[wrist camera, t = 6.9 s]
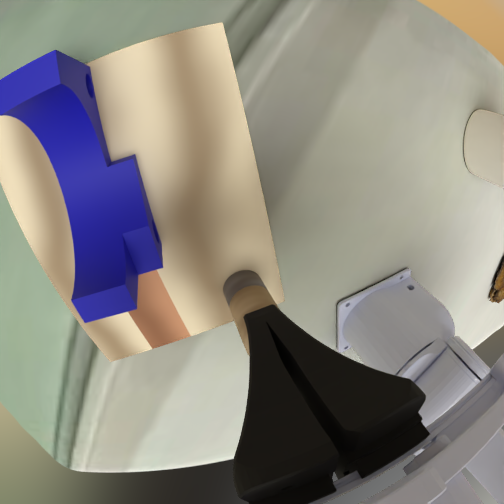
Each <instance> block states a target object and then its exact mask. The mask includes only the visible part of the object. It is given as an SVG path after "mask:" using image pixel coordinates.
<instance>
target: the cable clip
mask: <svg viewBox="0 0 504 504" xmlns="http://www.w3.org/2000/svg"><path fill="white" fill-rule="evenodd" d="M4 115H6V116H11V117H14V118H16V119H18V120H20V121H21V122H23V123H24V124H25V125H26V126H27V127H29V128H30V130H31V131H32V132H33V133H34V134H35V136H36V137H37V138H38V140H39V141H40V143H41V144H42V146H43V148H44V150H45V151H46V153H47V155H48V157H49V159H50V162H51V164H52V166H53V168H54V171H55V173H56V176H57V179H58V181H59V184H60V187H61V191H62V194H63V197H64V201H65V204H66V208H67V212H68V217H69V222H70V227H71V232H72V239H73V247H74V258H75V280H74V289H73V294H72V298H71V301H72V303H73V305H74V306H75V308H76V310H77V311H78V313H79V315H80V316H81V318H82V319H83V321H84V323H88V322H91V321H95V320H99V319H103V318H106V317H110V316H114V315H117V314H121V313H125V312H128V311H132V310H136V309H137V299H138V275H140V274H144V273H147V272H150V271H154V270H157V269H161V268H163V256H162V243H161V240H160V237H159V234H158V231H157V227H156V224H155V221H154V218H153V215H152V212H151V208H150V205H149V202H148V198H147V195H146V191H145V188H144V184H143V181H142V177H141V174H140V170H139V166H138V162H137V159H136V155H135V154H134V155H131V156H128V157H125V158H122V159H119V160H116V161H113V162H111V159H110V155H109V152H108V148H107V144H106V140H105V136H104V132H103V128H102V124H101V119H100V115H99V111H98V106H97V101H96V96H95V91H94V86H93V81H92V75H91V69H90V67H89V66H87V65H85V64H83V63H81V62H79V61H77V60H75V59H73V58H71V57H69V56H67V55H65V54H63V53H61V52H59V51H57V50H54V51H52V52H50V53H48V54H46V55H44V56H42V57H40V58H38V59H36V60H34V61H32V62H30V63H28V64H26V65H25V66H23V67H21V68H19V69H17V70H16V71H14V72H12V73H11V74H9V75H7V76H6V77H4V78H3V79H1V80H0V116H4Z"/></svg>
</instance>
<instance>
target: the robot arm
mask: <svg viewBox="0 0 504 504" xmlns="http://www.w3.org/2000/svg"><path fill="white" fill-rule="evenodd" d="M410 276H411V270H410V269H409V268H407V269H405V270H403V271H401V272H399V273H397V274H395V275H394V276H392V277H390V278H388V279H386V280H384V281H382V282H380V283H378V284H376V285H374V286H372V287H370V288H368V289H366V290H364V291H362V292H360V293H357V294H355V295H353V296H351V297H349V298H347V299H345V300H343V301H341V302H339V304H338V306H337V350H338V351H339V352H343V351H345V350H347V349H349V348H351V347H352V348H353V350H354V351H355V352H356V354H357V355H358V356H359V358H360V359H361V360H362V362H363V363H364V364H365V365H363V364H361V363H358V362H356V361H354V360H352V359H350V358H347V357H345V356H343V355H341V354H340V353H338V352H336V351H334V350H332V349H331V348H329V347H327V346H326V345H324V344H322V343H321V342H319V341H318V340H316V339H315V338H313V337H312V336H311V335H309V334H308V333H306V332H305V331H304V330H303V329H301V328H300V327H299V326H297V325H296V324H295V323H294V322H292V321H291V320H290V319H289V318H288V317H287V316H286V315H285V314H283V313H282V312H281V311H280V310H279V309H278V308H277V307H276V305H274V304H271V305H269V306H266V307H263V308H261V309H258V310H255V311H253V312H250V313H247V314H245V315H244V317H243V318H244V321H245V324H246V328H247V333H248V340H249V354H250V375H249V390H248V399H247V406H246V413H245V418H244V423H243V427H242V432H241V436H240V440H239V443H238V447H237V450H236V453H235V456H234V467H233V476H234V477H233V478H234V484H235V488H236V491H237V494H238V496H239V498H240V499H243V500H245V501H247V502H249V504H323V503H326V502H328V501H330V500H333V499H335V498H337V497H339V496H341V495H343V494H346V493H347V492H350V491H352V490H354V489H356V488H358V487H360V486H361V485H363V484H365V483H367V482H369V481H370V480H372V479H374V478H376V477H378V476H380V475H381V474H383V473H385V472H386V471H388V470H390V469H391V468H393V467H395V466H396V465H398V464H399V463H401V462H402V461H404V460H405V459H407V458H408V457H410V456H411V455H413V454H414V455H415V456H416V457H415V458H414V459H413V460H412V461H411V462H410V463H409V464H408V465H406V466H405V467H404V468H403V470H404V471H405V473H406V474H407V476H405V477H404V478H402V479H401V480H399V481H398V482H396V483H395V484H393V485H391V486H389V487H388V488H386V489H384V490H382V491H381V492H379V493H377V494H375V495H374V496H372V497H370V498H368V499H366V500H364V501H363V502H361V503H358V504H483V503H482V501H481V500H480V498H479V497H478V495H477V494H476V492H475V491H474V489H473V488H472V486H471V485H470V483H469V482H468V480H467V479H466V478H465V476H464V475H463V473H462V472H461V470H462V469H463V468H464V467H466V468H467V469H468V470H469V471H470V473H471V474H472V475H473V476H474V477H475V478H476V479H477V480H478V481H479V482H480V484H482V486H483V487H484V488H485V489H486V490H487V491H488V492H489V493H490V494H491V496H492V497H493V498H494V499H495V500H496V501H497V502H498V503H499V504H504V431H503V430H502V429H501V427H502V426H503V425H504V354H503V355H502V356H501V357H500V358H499V359H498V360H497V362H496V363H495V364H494V365H493V367H492V368H491V369H490V368H489V367H488V366H487V365H486V364H485V363H484V362H483V361H482V360H481V358H480V357H479V356H477V354H476V353H475V352H474V351H473V350H472V349H471V348H470V347H469V346H468V345H467V344H466V343H465V342H464V341H463V340H462V339H461V338H460V337H459V336H455V337H454V334H455V327H454V322H453V319H452V317H451V315H450V313H449V312H448V310H447V309H446V307H445V306H444V305H443V304H442V303H441V302H439V301H438V300H437V299H436V298H435V297H434V296H433V295H432V294H430V293H429V292H428V291H427V290H426V289H425V288H423V287H422V286H421V285H420V284H419V283H418V282H416V281H415V280H414V279H413V278H412V277H410ZM333 472H335V474H336V476H337V478H338V480H336V481H334V482H333V480H332V476H333Z"/></svg>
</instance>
